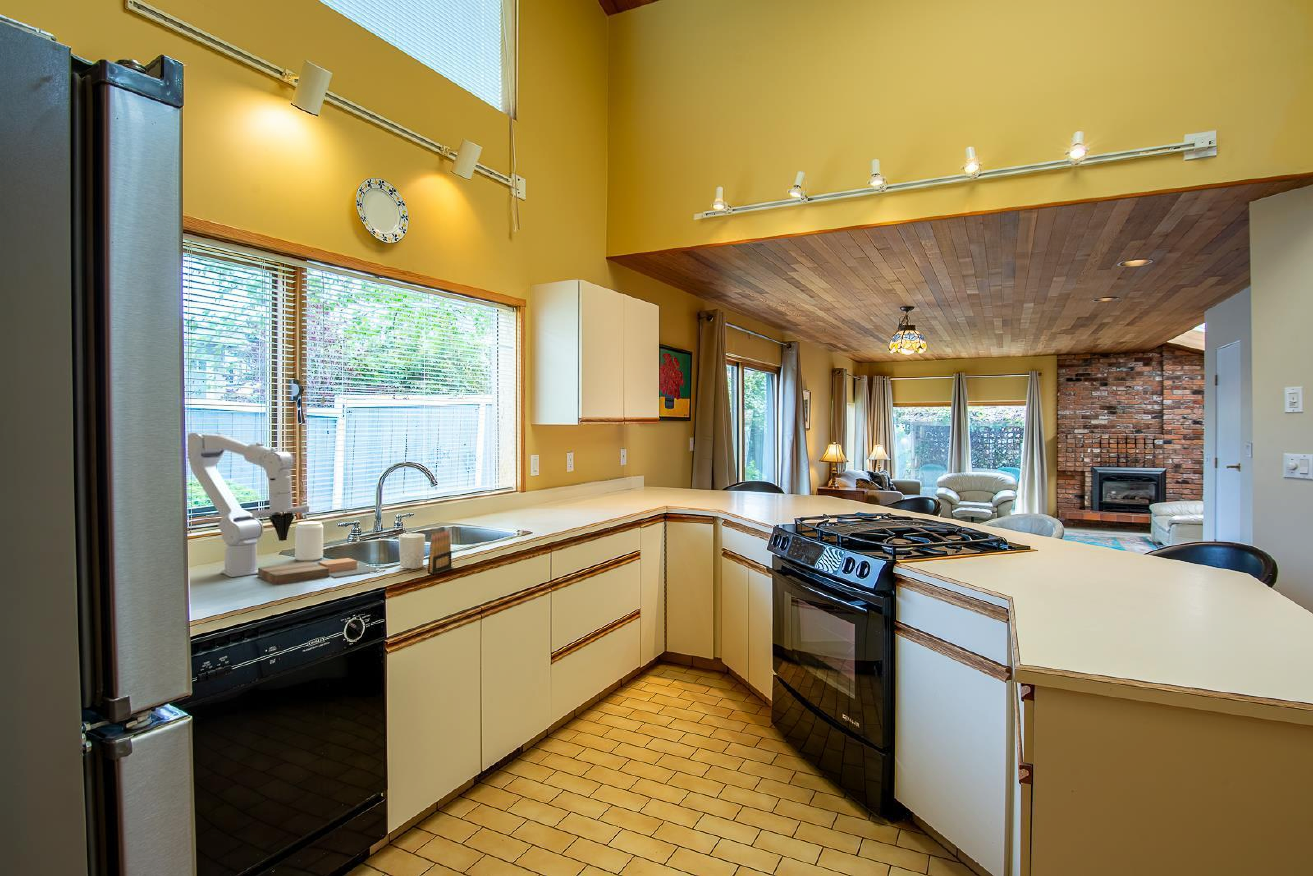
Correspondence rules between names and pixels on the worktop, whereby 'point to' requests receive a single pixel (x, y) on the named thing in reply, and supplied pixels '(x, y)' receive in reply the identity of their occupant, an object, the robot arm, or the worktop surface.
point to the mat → (354, 571)
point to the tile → (339, 564)
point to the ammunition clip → (440, 552)
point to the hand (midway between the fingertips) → (282, 540)
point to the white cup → (411, 550)
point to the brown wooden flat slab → (293, 572)
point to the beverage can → (309, 541)
